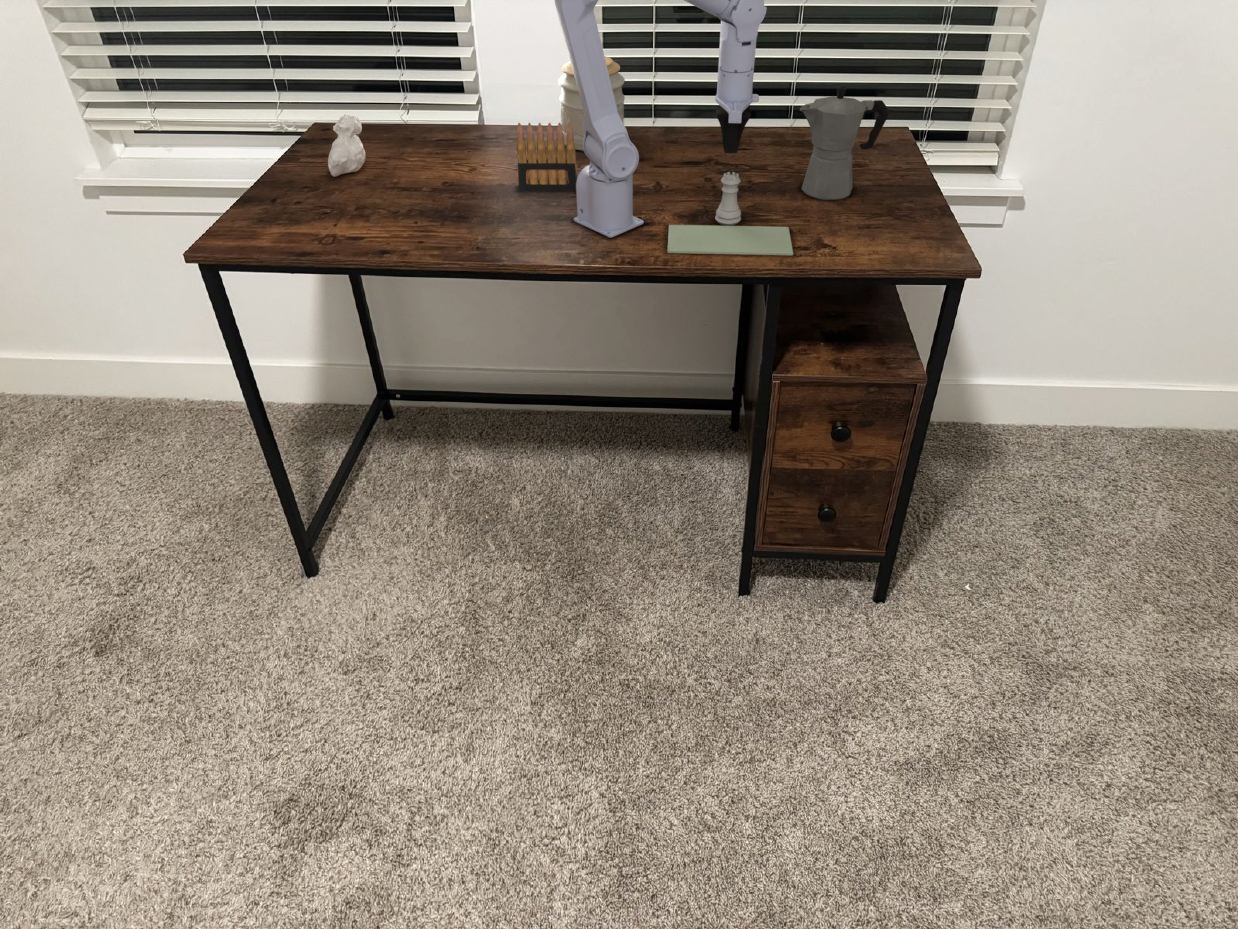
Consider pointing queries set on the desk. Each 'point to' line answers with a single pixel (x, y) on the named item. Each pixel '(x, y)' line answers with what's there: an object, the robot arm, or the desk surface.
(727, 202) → the rook chess piece
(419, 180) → the desk surface
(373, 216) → the desk surface
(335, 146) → the white tied sack
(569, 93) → the jar
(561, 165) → the ammunition clip
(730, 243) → the mat
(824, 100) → the coffeepot
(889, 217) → the desk surface
